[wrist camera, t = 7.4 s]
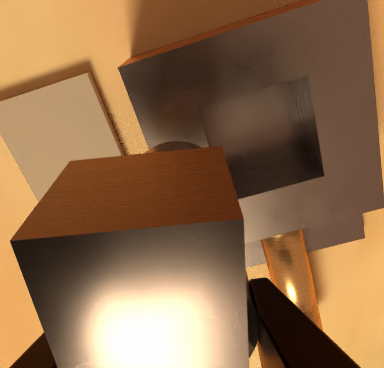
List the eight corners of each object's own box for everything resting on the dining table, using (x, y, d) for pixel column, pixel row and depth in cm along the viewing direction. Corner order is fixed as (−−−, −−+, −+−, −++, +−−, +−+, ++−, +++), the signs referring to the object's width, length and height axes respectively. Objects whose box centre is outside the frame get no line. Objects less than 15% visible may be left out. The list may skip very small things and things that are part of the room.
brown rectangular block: (147, 270, 16) (108, 577, 7) (113, 83, 12) (-44, 246, 4) (227, 263, 16) (284, 562, 7) (215, 72, 12) (297, 213, 4)
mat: (-10, 103, 19) (-15, 106, 18) (89, 71, 18) (86, 73, 18) (59, 227, 22) (56, 233, 22) (144, 203, 21) (143, 208, 21)
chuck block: (130, 57, 18) (117, 67, 15) (331, -9, 17) (365, -15, 13) (230, 333, 26) (236, 379, 23) (369, 301, 25) (396, 344, 22)
